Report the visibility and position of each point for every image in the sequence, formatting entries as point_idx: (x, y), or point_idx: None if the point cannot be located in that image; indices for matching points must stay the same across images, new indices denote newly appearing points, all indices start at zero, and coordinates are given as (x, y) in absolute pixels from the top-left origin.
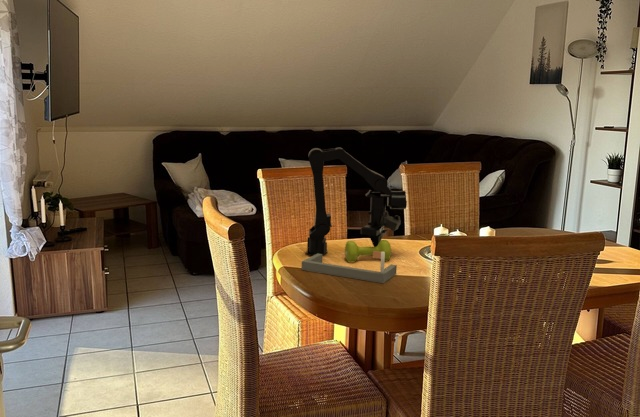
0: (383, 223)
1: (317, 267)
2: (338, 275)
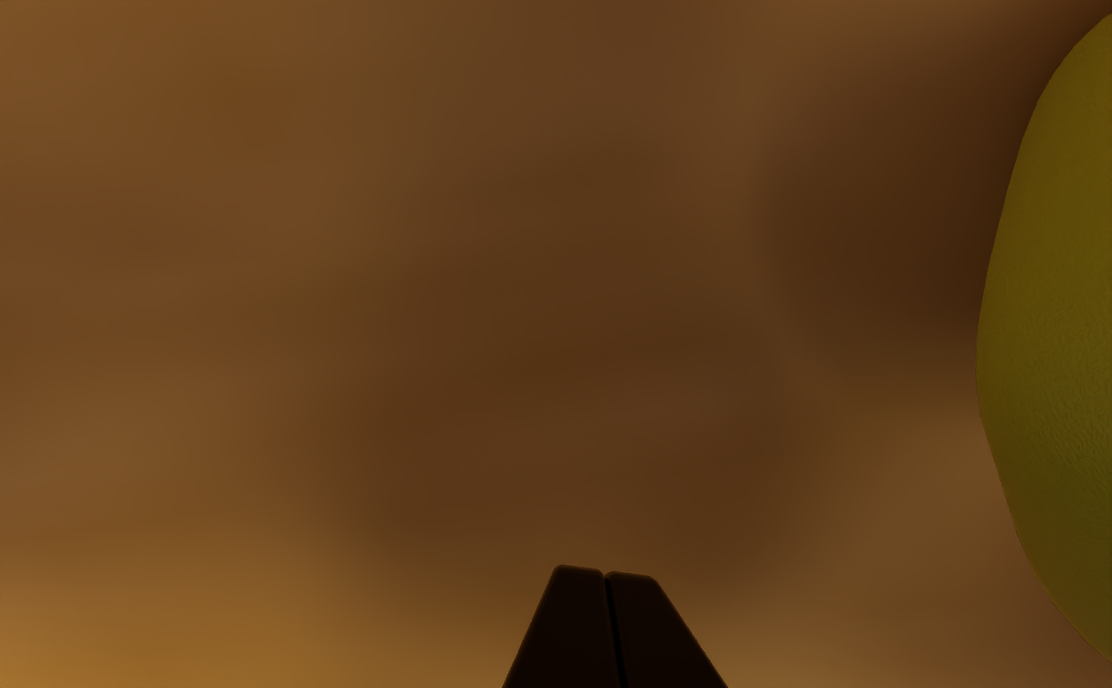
0: None
1: None
2: None
